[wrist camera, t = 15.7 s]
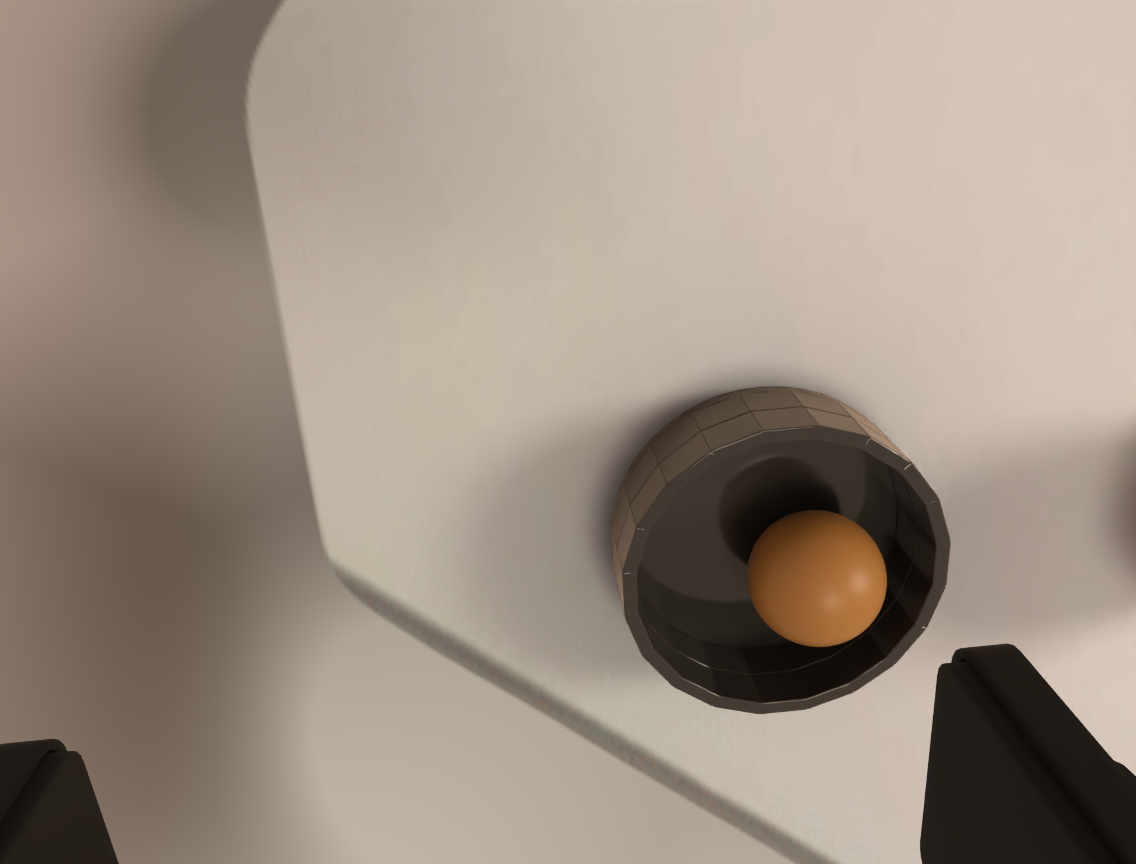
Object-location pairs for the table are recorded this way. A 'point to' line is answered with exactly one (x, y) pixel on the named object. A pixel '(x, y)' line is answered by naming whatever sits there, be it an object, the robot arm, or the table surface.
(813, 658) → the bowl
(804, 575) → the orange ball
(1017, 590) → the table surface
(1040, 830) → the robot arm
